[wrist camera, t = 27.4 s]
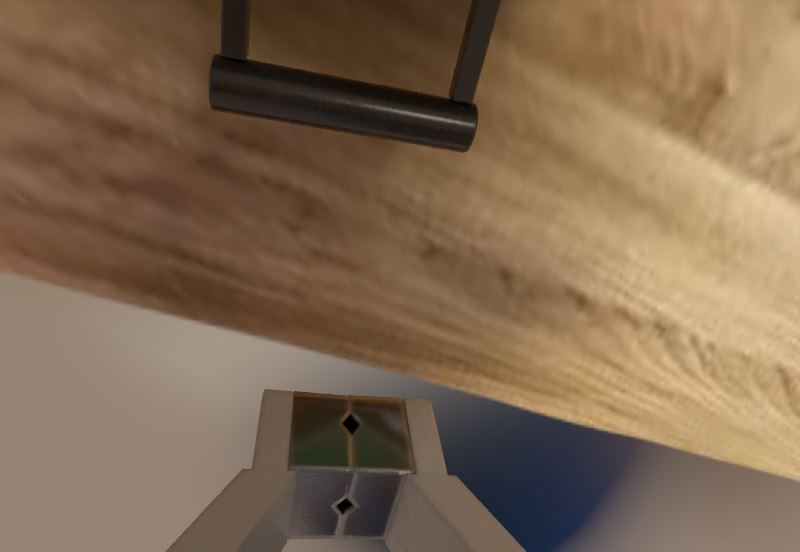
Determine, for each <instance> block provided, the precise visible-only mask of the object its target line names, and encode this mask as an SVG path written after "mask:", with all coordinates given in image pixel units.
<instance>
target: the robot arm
mask: <svg viewBox="0 0 800 552" xmlns="http://www.w3.org/2000/svg"><path fill="white" fill-rule="evenodd" d="M317 538H350V539H382V540H383V539H384V540H385V543H386V545H387V547H388V548H389V550H390V552H526V551H525V550H524V549H523V548H522V547H521V546H520V545H519V543H518V542H517V541H516V540H515V539H514V538H513V537H512V536H511V535H510V534H509V533H508V532H507V531H506V529H505V528H504V527H503V526H502V525H501V524H500V523H499V522H498V521H497V520H496V519H495V518H494V517H493V515H492V514H491V513H490V512H489V511H488V510H487V509H486V508H485V507H484V506H483V505H482V504H481V503H480V501H479V500H478V499H477V498H476V497H475V496H474V495H473V494H472V493H471V492H470V491H469V490H468V488H467V487H465V485H464V484H463V483H462V482H461V481H460V480H459V479H458V478H457V477H456V476H452V475H447V470H446V466H445V462H444V457H443V453H442V448H441V444H440V440H439V435H438V431H437V426H436V422H435V418H434V413H433V409H432V404H431V403H430V402H429V400H426V399H407V398H402V399H400V398H390V397H389V398H388V397H370V396H350V395H349V396H344V395H332V394H320V393H309V392H297V391H294V395H293V392H291V391H279V390H268V389H265V390H264V393H263V396H262V403H261V410H260V417H259V423H258V430H257V437H256V444H255V450H254V457H253V464H252V469H242V470H241V471H240V472H239V473H238V474H237V476H236V477H235V478H234V479H233V480H232V481H231V482H230V483H229V484H228V485H227V486H226V487H225V488H224V489H223V491H222V492H221V493H220V494H219V495H218V496H217V497H216V498H215V499H214V500H213V501H212V502H211V503H210V504H209V506H208V507H207V508H206V509H205V510H204V511H203V512H202V513H201V514H200V515H199V516H198V517H197V518H196V520H195V521H194V522H193V523H192V524H191V525H190V526H189V527H188V528H187V529H186V530H185V531H184V532H183V533H182V535H181V536H180V537H179V538H178V539H177V540H176V541H175V542H174V543H173V544H172V545H171V546H170V548H169V549H168V550H167V551H166V552H281V551H282V549H283V548H284V546H285V545H286V543H287V539H317Z"/></svg>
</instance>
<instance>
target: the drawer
mask: <svg viewBox="0 0 800 552" xmlns="http://www.w3.org/2000/svg"><path fill="white" fill-rule="evenodd" d="M500 2H501V0H472V2H471V6H470V10H469V14H468V18H467V22H466V26H465V30H464V34H463V38H462V42H461V46H460V50H459V54H458V58H457V62H456V66H455V70H454V74H453V78H452V82H451V86H450V89H449V93H448V94H449V97H450V98H447V97H441V96H436V95H431V94H426V93H421V92H415V91H410V90H405V89H400V88H395V87H389V86H384V85H379V84H374V83H369V82H364V81H358V80H353V79H348V78H343V77H338V76H332V75H327V74H322V73H317V72H312V71H306V70H301V69H296V68H291V67H286V66H280V65H275V64H270V63H265V62H260V61H254V60H249V59H246V58H247V57H248V52H249V31H250V10H251V0H222V15H221V54H218V53H217V54H215V55H214V57H213V59H212V62H211V67H210V75H209V101H210V106H211V109H212V110H214V111H219V112H225V113H231V114H237V115H243V116H249V117H255V118H261V119H267V120H273V121H278V122H284V123H290V124H296V125H302V126H308V127H314V128H320V129H326V130H332V131H337V132H343V133H349V134H355V135H361V136H367V137H373V138H379V139H385V140H391V141H396V142H402V143H408V144H414V145H420V146H426V147H432V148H438V149H444V150H450V151H455V152H461V153H464V152H467V151H468V150H469V148H470V146H471V144H472V142H473V140H474V137H475V133H476V129H477V123H478V109H477V106H476V104H474V103H473V98H474V95H475V91H476V88H477V84H478V80H479V77H480V73H481V70H482V66H483V63H484V59H485V55H486V52H487V48H488V45H489V41H490V37H491V34H492V30H493V27H494V23H495V19H496V16H497V12H498V9H499V5H500Z"/></svg>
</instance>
